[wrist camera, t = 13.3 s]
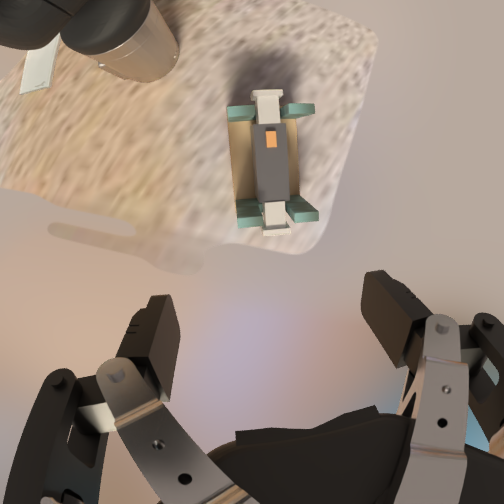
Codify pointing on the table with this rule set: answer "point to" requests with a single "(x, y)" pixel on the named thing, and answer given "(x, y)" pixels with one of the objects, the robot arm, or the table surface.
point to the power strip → (270, 161)
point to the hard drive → (40, 67)
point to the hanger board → (243, 164)
